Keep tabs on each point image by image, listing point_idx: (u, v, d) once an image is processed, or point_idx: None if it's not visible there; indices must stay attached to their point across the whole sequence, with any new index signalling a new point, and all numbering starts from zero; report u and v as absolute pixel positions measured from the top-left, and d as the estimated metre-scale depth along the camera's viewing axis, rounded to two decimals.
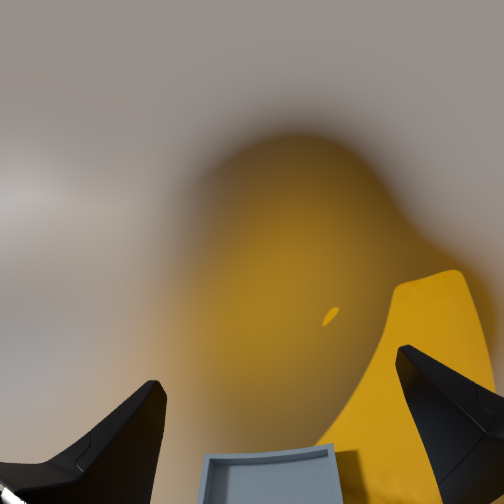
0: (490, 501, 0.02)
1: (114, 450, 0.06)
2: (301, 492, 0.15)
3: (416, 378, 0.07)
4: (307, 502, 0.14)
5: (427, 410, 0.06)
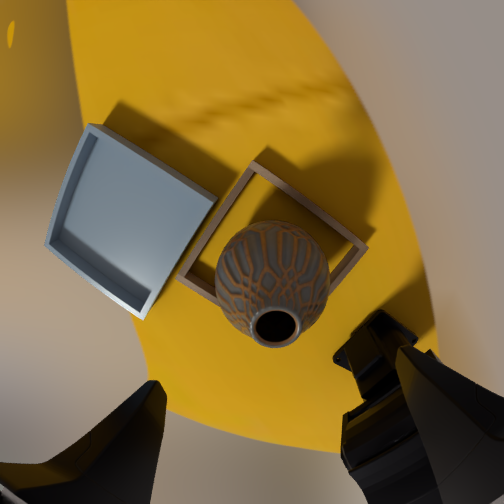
0: (490, 501, 0.02)
1: (114, 450, 0.06)
2: (117, 182, 0.18)
3: (416, 378, 0.07)
4: (130, 185, 0.18)
5: (427, 410, 0.06)
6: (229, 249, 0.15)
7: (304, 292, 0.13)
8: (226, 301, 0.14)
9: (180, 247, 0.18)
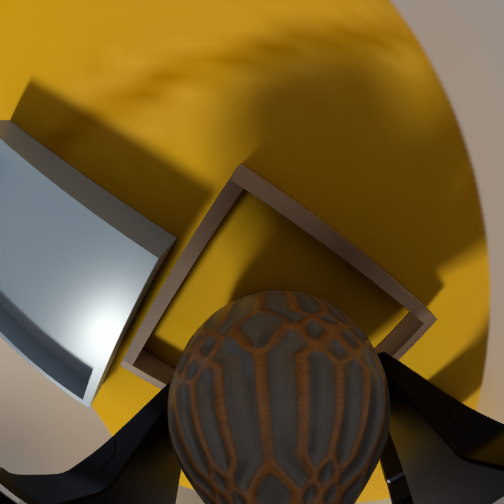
0: None
1: (141, 455, 0.05)
2: (23, 211, 0.09)
3: (389, 387, 0.07)
4: (39, 216, 0.09)
5: (400, 420, 0.06)
6: (186, 382, 0.06)
7: (350, 493, 0.04)
8: (187, 475, 0.05)
9: (114, 330, 0.09)
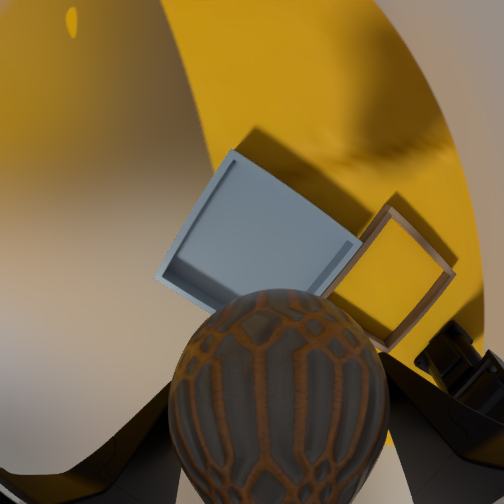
0: None
1: (142, 455, 0.05)
2: (257, 215, 0.19)
3: (389, 387, 0.07)
4: (273, 219, 0.19)
5: (399, 420, 0.06)
6: (186, 378, 0.06)
7: (346, 492, 0.04)
8: (186, 471, 0.05)
9: (327, 281, 0.19)
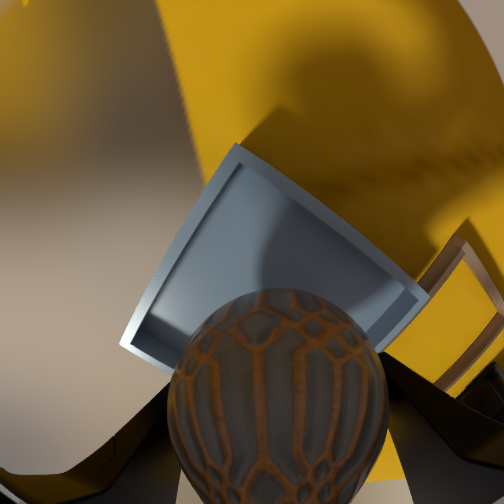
0: None
1: (142, 455, 0.05)
2: (276, 255, 0.12)
3: (389, 387, 0.07)
4: (302, 261, 0.12)
5: (399, 420, 0.06)
6: (185, 377, 0.06)
7: (345, 492, 0.04)
8: (184, 471, 0.05)
9: (376, 350, 0.12)
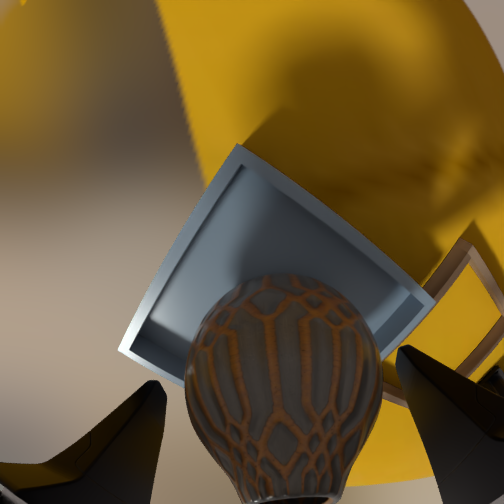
0: (490, 501, 0.02)
1: (114, 450, 0.06)
2: (279, 260, 0.11)
3: (416, 378, 0.07)
4: (305, 267, 0.12)
5: (427, 410, 0.06)
6: (204, 348, 0.07)
7: (350, 446, 0.05)
8: (203, 438, 0.06)
9: None
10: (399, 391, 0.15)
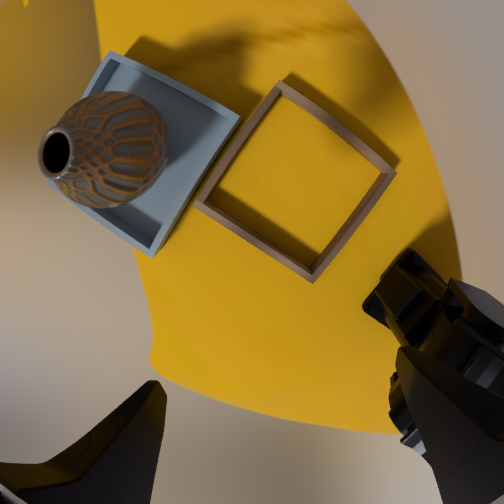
0: (490, 501, 0.02)
1: (114, 450, 0.06)
2: None
3: (416, 378, 0.07)
4: None
5: (427, 410, 0.06)
6: None
7: (91, 120, 0.09)
8: (48, 156, 0.11)
9: (201, 164, 0.16)
10: (263, 239, 0.19)
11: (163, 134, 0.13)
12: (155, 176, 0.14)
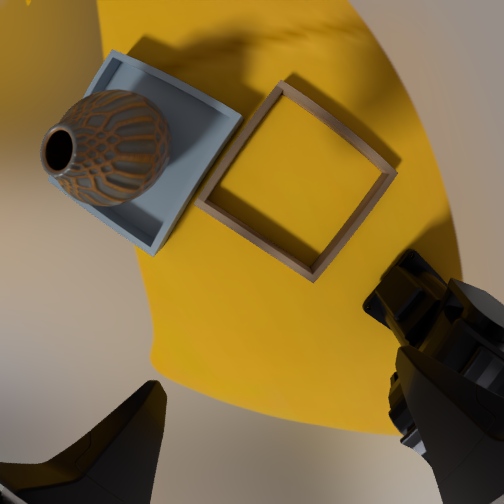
0: (490, 501, 0.02)
1: (114, 450, 0.06)
2: None
3: (416, 378, 0.07)
4: None
5: (427, 410, 0.06)
6: None
7: (94, 118, 0.09)
8: (51, 154, 0.11)
9: (203, 163, 0.16)
10: (264, 238, 0.19)
11: (165, 133, 0.13)
12: (157, 174, 0.14)
